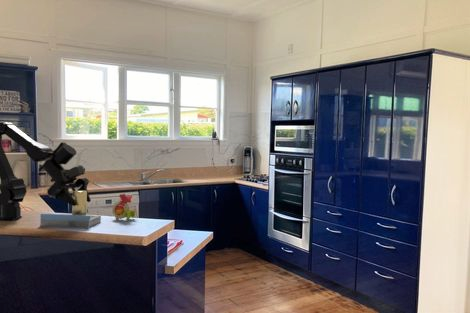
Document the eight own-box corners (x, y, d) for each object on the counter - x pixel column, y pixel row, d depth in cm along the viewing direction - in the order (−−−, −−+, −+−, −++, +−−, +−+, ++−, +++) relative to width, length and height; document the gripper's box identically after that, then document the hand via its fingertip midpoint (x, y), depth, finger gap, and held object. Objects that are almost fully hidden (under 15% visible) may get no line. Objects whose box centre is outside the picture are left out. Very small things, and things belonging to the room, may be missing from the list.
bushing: (69, 224, 143) (69, 191, 143) (78, 222, 148) (79, 190, 148) (79, 226, 142) (80, 192, 141) (89, 223, 146) (89, 191, 146)
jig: (40, 226, 140) (40, 213, 140) (56, 219, 151) (56, 208, 151) (88, 228, 139) (88, 215, 139) (100, 221, 150) (100, 210, 150)
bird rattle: (114, 226, 152) (134, 218, 151) (104, 200, 152) (124, 192, 151) (120, 223, 158) (140, 215, 157) (110, 198, 159) (130, 190, 158)
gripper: (55, 159, 135) (82, 192, 134) (85, 157, 154) (109, 186, 152) (35, 180, 137) (62, 212, 136) (67, 176, 156) (91, 204, 154)
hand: (83, 203), depth 144 cm, fingers open, 9 cm apart
